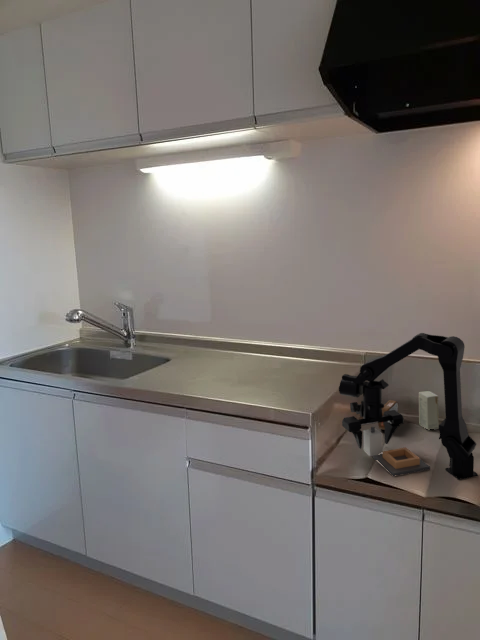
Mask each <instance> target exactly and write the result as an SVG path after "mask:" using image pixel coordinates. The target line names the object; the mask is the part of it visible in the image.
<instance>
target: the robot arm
mask: <svg viewBox="0 0 480 640" xmlns="http://www.w3.org/2000/svg"><path fill="white" fill-rule="evenodd" d="M418 350H421V351H423V352H425V353H428V354H430V355H433V356H436V357H437V359H438V363H439V365H440V367H441V370H442V373H443V388H444V389H443V390H444V394H443V395H444V408H445V409H444V410H445V418H444V419H443V421H441V423H440V424H439V429H438V431H439V436H438V440H440V441H441V445H442V446H443V447H444V448H445V449H446V452H447V453H448V457H449V466H448V467H446V468H445V471H446V472H448V473H449V475H452V476H453V477H454V478H455V479H457V480H465V479H469V478H474V477H479V474H478V472H476V471H475V470H474V466H475V465H474V464H475V463H474V462H475V461H474V460H475V456H474V455H473V451H474V450H475V449H476V447H477V442H476V441H475V440H474V439H473V438H472V437H471V435H469V432H468V427H467V423H466V422H465V419H464V416H463V411H462V410H463V409H462V405H463V403H462V386H461V385H462V383H461V367H462V364H463V359H464V354H465V342H464V341H463V340H462V339H461V338H460V337H457V336H449V337H448V336H444V335H438V334H437V335H434V334H429V333H425V332H420V333H418V334H416V335H414V336H413V337H412V338H411V339H410V340H407V341H406V342H404V343H403V344H401V345H400V346H398V347H396V348H395V349H393V350H392V351H390V352H389V353H386V354H383V355H380V356H378V357H375V358H371V359H370V360H368V361H367V362H365V363H363V364H362V365H361V366H360V368H359V374H357V375H351V374H347V373H345V374H343V375H341V380H340V382H339V386H338V392H339V394H340V395H341V396H346V397H347V396H348V397H352V398H353V397H354V398H360V396H362V397H363V398H362V400H361V402H360V403H359V404H358V402H356V401H354V402H353V401H352V402H349V403H350V407H349V408H350V412H351V413H355V414H356V415H359V416H360V417H361V419H360V418H359V419H358V418H356V417H355V416H347V417H343V419H342V421H341V426H342V427H343V428H344V429H345V430H347V431H348V432H349V433H351V434H353V437H354V438H355V442H356V444H357V446H358V449H362V448H363V447H362V446H363V430H361V429H362V426H365V425H372V424H378V423H379V422H384V425H385V430H384V444H386V445H388V444H389V442H390V440H391V439H392V436H393V435H394V433H395V432H396V430H398V429H397V428H400V426H401V425H403V424H404V422H405V421H404V415H403V414H401V413H400V412H399V411H398V412H397V411H395V410H390V411H385V412H384V415H383V416H382V408H384V405H385V404H384V403H383V390H385V389H386V388H387V387H389V383H387V382H386V381H385V379H384V378H382V379H381V380H376V379H378V378H379V377H381V376H383V374H385V373H386V372H387V371H388V370H389V369H390V368H391V367H392V366H393V365H395V364H397V363H399V362H400V361H402V360H403V359H405V358H407V357H408V356H411V355H412V354H414V353H415V352H417V351H418Z"/></svg>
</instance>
